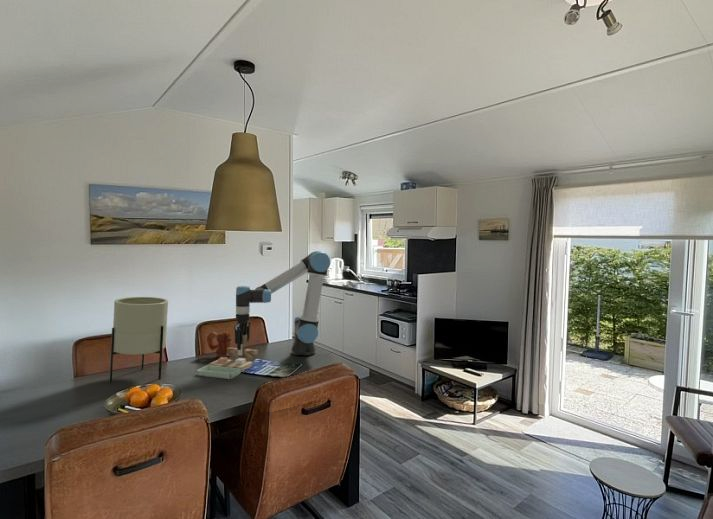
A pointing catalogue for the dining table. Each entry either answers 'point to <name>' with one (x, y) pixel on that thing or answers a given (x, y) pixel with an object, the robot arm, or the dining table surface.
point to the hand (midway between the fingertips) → (242, 354)
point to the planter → (139, 327)
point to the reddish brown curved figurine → (219, 343)
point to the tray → (218, 372)
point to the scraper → (246, 352)
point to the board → (233, 364)
